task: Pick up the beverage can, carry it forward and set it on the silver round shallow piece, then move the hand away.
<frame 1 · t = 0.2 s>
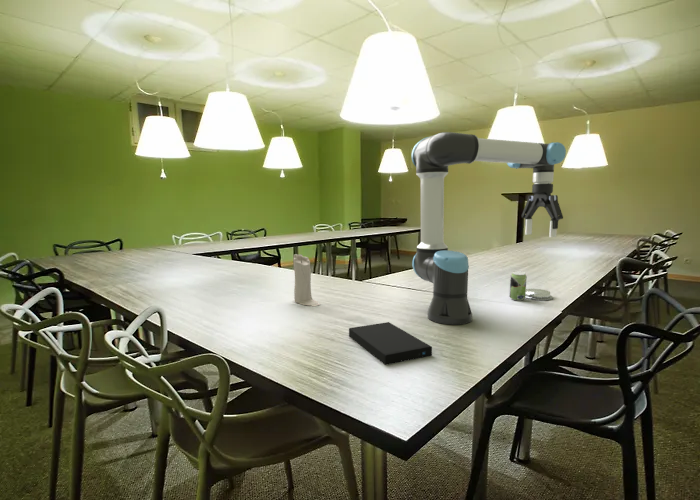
hand: (540, 235, 157), 27 cm above the table, fingers open, 13 cm apart
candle: (307, 303, 158), on the table
external hard drive: (387, 347, 110), on the table
silver round shallow piece: (536, 297, 164), on the table
beverage can: (517, 300, 159), on the table
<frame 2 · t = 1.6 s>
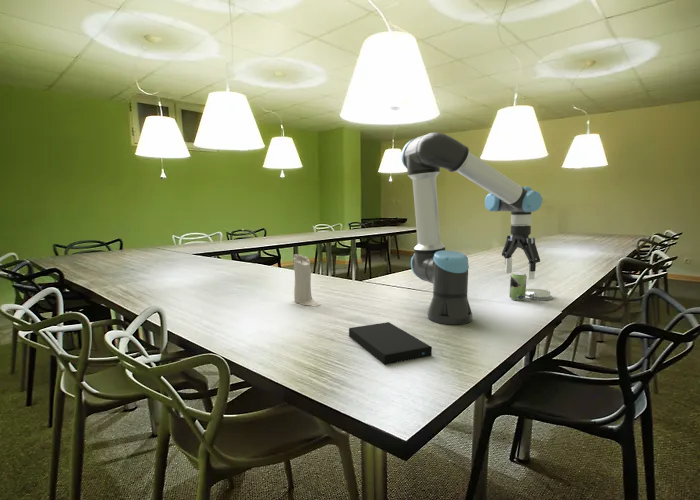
hand: (519, 276, 158), 10 cm above the table, fingers open, 13 cm apart
nothing on the table moved.
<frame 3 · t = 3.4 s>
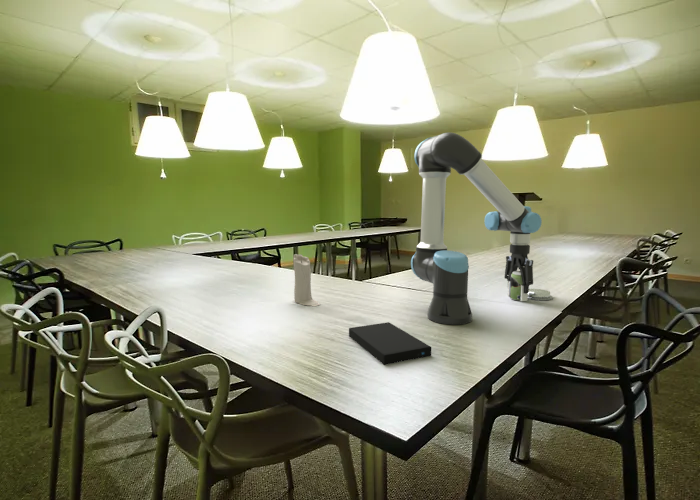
hand: (517, 298, 159), 1 cm above the table, fingers closed on beverage can, 7 cm apart
beverage can: (517, 300, 159), on the table, touching gripper
everything else where it was.
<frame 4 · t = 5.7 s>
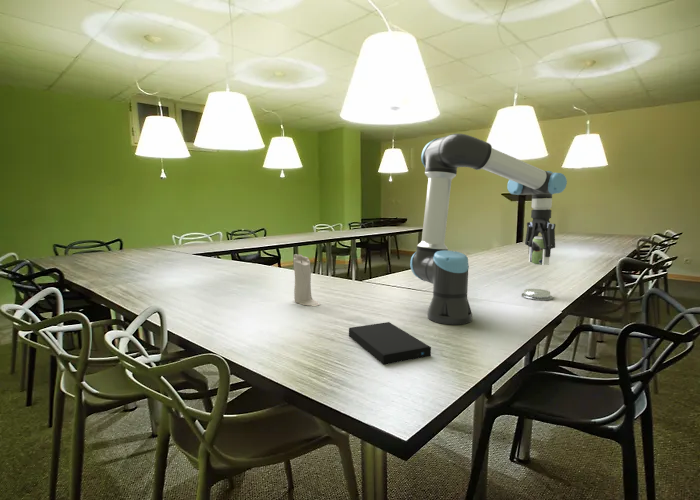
hand: (538, 263, 162), 15 cm above the table, fingers closed on beverage can, 7 cm apart
beverage can: (538, 265, 162), point 14 cm above the table, touching gripper
everything else where it was.
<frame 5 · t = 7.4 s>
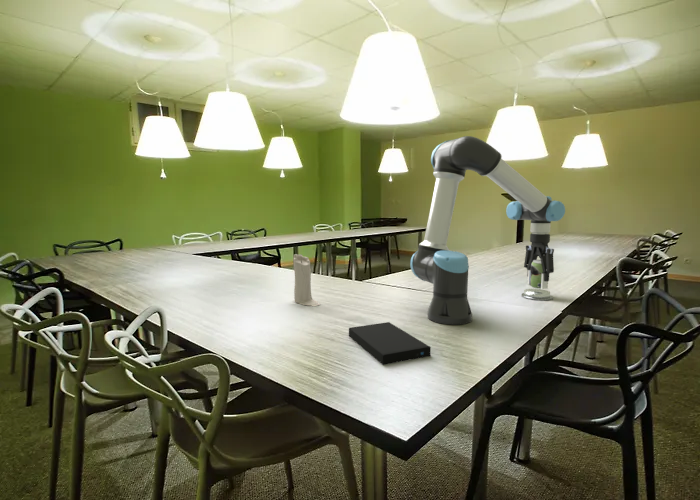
hand: (537, 286, 163), 5 cm above the table, fingers closed on beverage can, 7 cm apart
beverage can: (537, 288, 163), point 4 cm above the table, touching gripper
everything else where it was.
when the fingers open (4 cm above the table, at t = 8.3 s): beverage can stays where it is, resting on silver round shallow piece.
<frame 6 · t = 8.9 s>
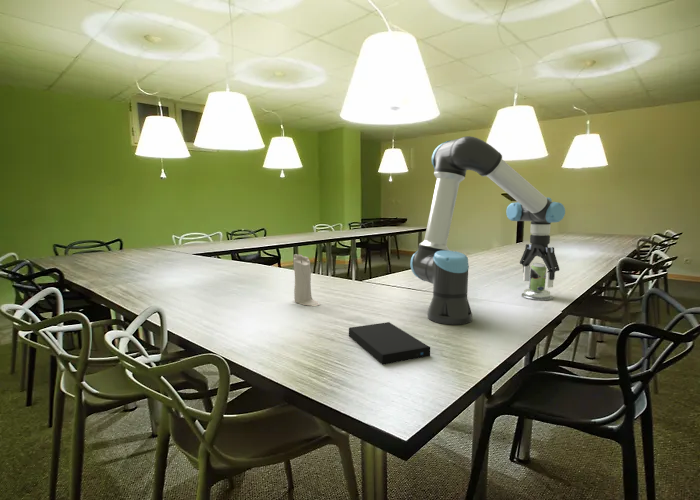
hand: (537, 284, 163), 6 cm above the table, fingers open, 13 cm apart
beverage can: (536, 291, 163), point 2 cm above the table, touching silver round shallow piece
everything else where it was.
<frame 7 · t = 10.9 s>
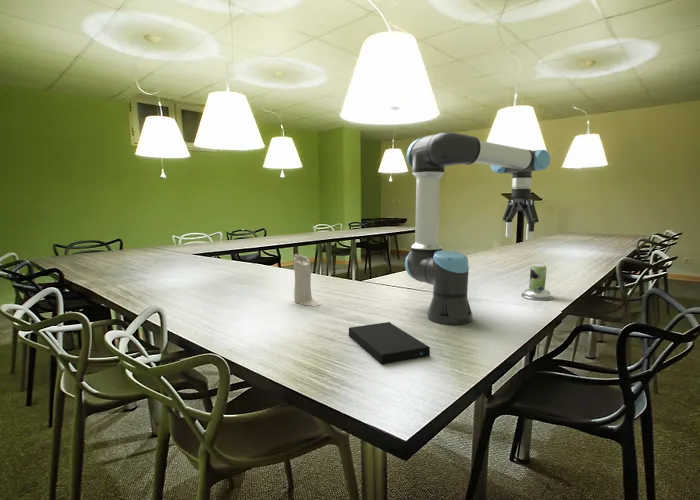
hand: (518, 238, 165), 25 cm above the table, fingers open, 13 cm apart
nothing on the table moved.
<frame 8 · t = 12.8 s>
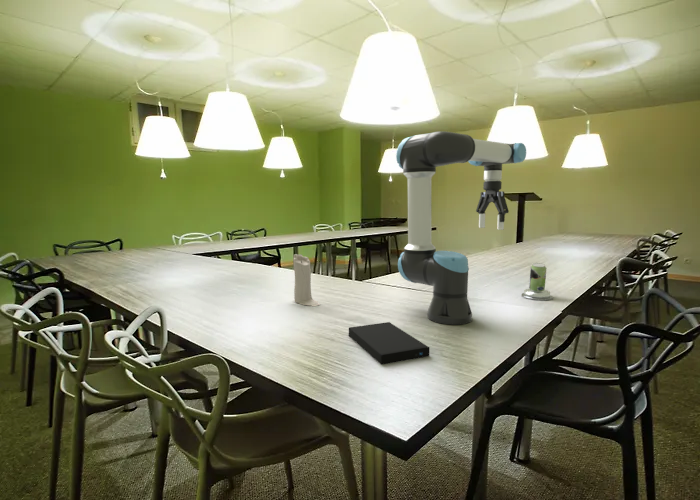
hand: (490, 228, 172), 29 cm above the table, fingers open, 13 cm apart
nothing on the table moved.
at the end: beverage can inside the target area on the silver round shallow piece (0.1 cm from its centre), point 2.3 cm above the silver round shallow piece's base; beverage can tilted 0°; beverage can touching silver round shallow piece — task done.
